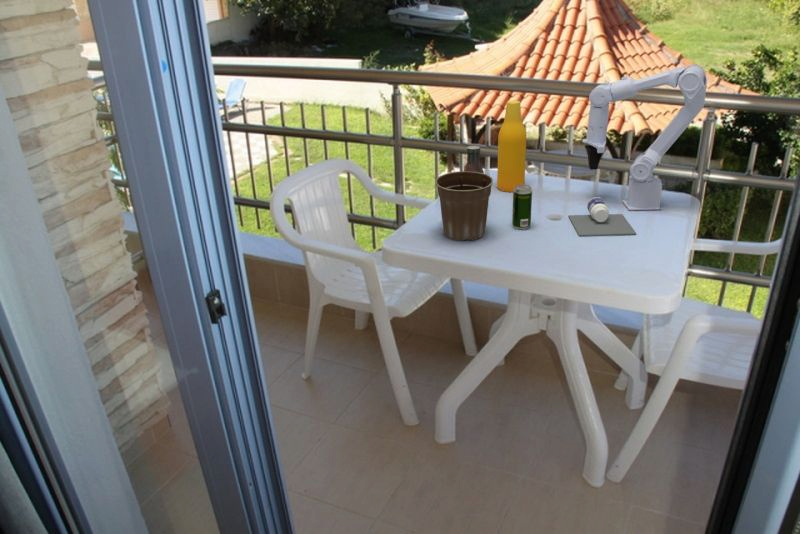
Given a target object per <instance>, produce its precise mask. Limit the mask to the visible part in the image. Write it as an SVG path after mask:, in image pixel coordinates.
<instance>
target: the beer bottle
mask: <svg viewBox="0 0 800 534" xmlns="http://www.w3.org/2000/svg"><path fill="white" fill-rule="evenodd" d="M521 109H522V108H521V101H519V100H508V101H506V107H505V113H504V114H505V115H504V120H503V123H502V125H501V127H500V130H499V132H498V137H497V140H498V141H497V172H496V173H497V174H496V175H497V177H496V187H497V189H498V190H499V191H502V192H504V191H505V192H506V193H513V190H514V187H515V186H517V185H526V175H525V174H526V156H527V132H526V127H525V126H524V123H523V121H522V110H521Z"/></svg>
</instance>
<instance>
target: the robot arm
mask: <svg viewBox="0 0 800 534" xmlns="http://www.w3.org/2000/svg"><path fill="white" fill-rule="evenodd" d="M707 85H708V79H707V74H706V71H705V69H704V68H703V67H702V66H700V65H698V64H691V65H688V66H679V67H675V68H671V69H668V70H665V71H661V72H659V73H655V74H652V75H650V76H649V75H648V76H646V77H643V78H640V79H636V78H635V79H634V78H633V77H631V76H630V77H628V76H622V77H621V79H619V80H616V81H612V82H610V81H607V82H604V84H599V85H597V86H595V87H594V89H592V90H591V92H590V93H589V96H588V97H589V98H588V99H589V100H588V101H589V102H590V107H589V111H588V112H589V113H588V123H587V131H586V138H585V139H582V140H581V141H582V143H583V144H586V145H584V148H585V150H586V154H587V155H586V156H587V159H588V160H587V162H588V163H587V164H588V168H589V170H591V171H592V170H598V167H599V164H600V162H601V159H602V157H603V155H604V154H605V152H607V151H606V150H607V149H606V144H607V133H608V132H607V131H608V126H609V125H608V123H609V116H610V103H616V102H621V101H624V100H628V99H631V98H634V97H635V98H636V96H637V94H638V92H641V91H646V90H649V89H653V88H657V87H661V86H669V87H671V88H674V89H676V88H677V87H678V88H679V90H680V92H681V93H682V95H683V99H684V100H683V101H684V105H683V106H682V108H681V109H679V111H678V112H677V113H676V114H675V116H674V117H673V118H672V119H671V120H670V122H669V123H668V124H667V126H666V127H665V128H664V129H663V130H662V131H661V133H660V134H659V135H658V136H657V138H656V139H655V140H654V141H653V143H651V145H650V146H649V147H648V148H647V149H646V150H645V151H644V152H643V153H641V154H639V155H637V156H636V157H635V158H634V159H635V160H634V162H633V163H632V164H631V166H630V168H629V177H628V188H627V194H626V195H627V196H626V199H623V200H622V202H621V203H623V205H624V206H626V207H625V208H627V210H629V211H648V210H649V211H651V210H653V211H654V210H655V211H656V210H661V207H660V206H661V201H662V192H663V191H662V190H663V183H662V180H661V178H659V177H655V176H654V174H653V171H654V170H655V168H656V166H657V164H658V163H659V162H660V160H661V159H662V157H663V156H664V155H665V154H666V152H668V150H669V149H670V148H671V147H672V146H673V144H674V143H676V141H677V140H678V138H679V137H680V136H681V135H682V134H683V132H684V131H686V129H687V128H688V127H689V126H690V124H691V123H692V122H693V121H694V119H695V118H696V117H697V116H698V115H699V114H700V113H701V111H702V110H703V108H704V106H705V103H706V93H707Z"/></svg>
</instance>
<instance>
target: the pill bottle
mask: <svg viewBox="0 0 800 534" xmlns="http://www.w3.org/2000/svg"><path fill="white" fill-rule="evenodd" d="M586 207H587V211H588V212H589V215H591V217H592V218H593V219H594V220H596V221H598V222H604V221H605V220H607V218H608V214H610V210H609V208H608V207H609V206H607V204H606V202H605V200H604V199H603V198H601V197H600V196H599V197H597V196H596V197H595V196H594V197H592V198H591V199H589V200H588V202H587V205H586Z"/></svg>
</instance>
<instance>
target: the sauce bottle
mask: <svg viewBox="0 0 800 534" xmlns="http://www.w3.org/2000/svg"><path fill="white" fill-rule="evenodd" d="M466 153H467V159H466V161H467V162H466V163H465V165H464V167H463V171H470V172H479V173H483V174H485V173H484V170H483V167H482V164H481V161H480V160H481V159H480V158H481V155H480V153H481V147H480V146H478V145H470V146H467V147H466Z"/></svg>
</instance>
